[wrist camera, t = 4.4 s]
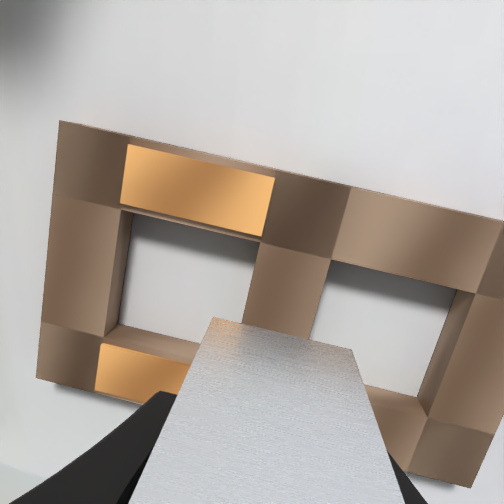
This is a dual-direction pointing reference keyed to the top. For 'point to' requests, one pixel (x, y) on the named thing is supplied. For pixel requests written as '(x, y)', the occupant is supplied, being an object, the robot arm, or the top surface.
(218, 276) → the top surface
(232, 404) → the steel block
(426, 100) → the top surface
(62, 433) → the top surface
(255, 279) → the socket plate
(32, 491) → the robot arm
